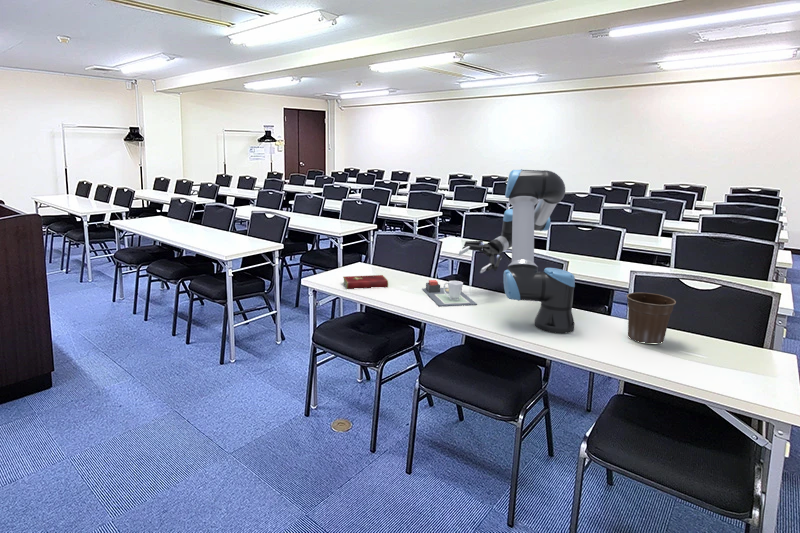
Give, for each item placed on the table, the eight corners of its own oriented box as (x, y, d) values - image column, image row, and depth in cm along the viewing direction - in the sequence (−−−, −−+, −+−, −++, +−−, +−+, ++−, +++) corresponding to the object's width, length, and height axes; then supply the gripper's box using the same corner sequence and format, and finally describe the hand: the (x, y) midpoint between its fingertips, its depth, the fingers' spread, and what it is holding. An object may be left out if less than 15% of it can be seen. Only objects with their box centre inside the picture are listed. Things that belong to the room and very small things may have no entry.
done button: (437, 287, 233) (437, 281, 232) (430, 288, 232) (430, 282, 232) (435, 285, 236) (435, 280, 236) (428, 286, 236) (428, 280, 235)
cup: (456, 302, 217) (457, 285, 215) (438, 297, 223) (439, 281, 221) (465, 299, 222) (466, 282, 220) (447, 294, 228) (448, 278, 226)
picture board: (476, 305, 216) (477, 303, 216) (438, 306, 212) (438, 304, 212) (456, 288, 243) (456, 286, 243) (422, 289, 239) (422, 288, 239)
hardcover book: (388, 288, 241) (388, 280, 240) (346, 290, 236) (346, 281, 235) (382, 282, 252) (382, 274, 252) (342, 283, 247) (342, 276, 246)
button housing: (439, 292, 233) (440, 285, 232) (428, 292, 232) (429, 285, 231) (436, 289, 238) (436, 282, 237) (425, 289, 237) (426, 282, 236)
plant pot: (625, 344, 175) (631, 301, 171) (617, 329, 190) (623, 290, 186) (674, 349, 171) (681, 306, 167) (663, 334, 186) (669, 294, 182)
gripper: (514, 267, 230) (488, 284, 218) (475, 237, 241) (448, 251, 228) (520, 256, 225) (493, 272, 212) (480, 225, 236) (453, 240, 223)
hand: (470, 261), depth 220 cm, fingers open, 13 cm apart
